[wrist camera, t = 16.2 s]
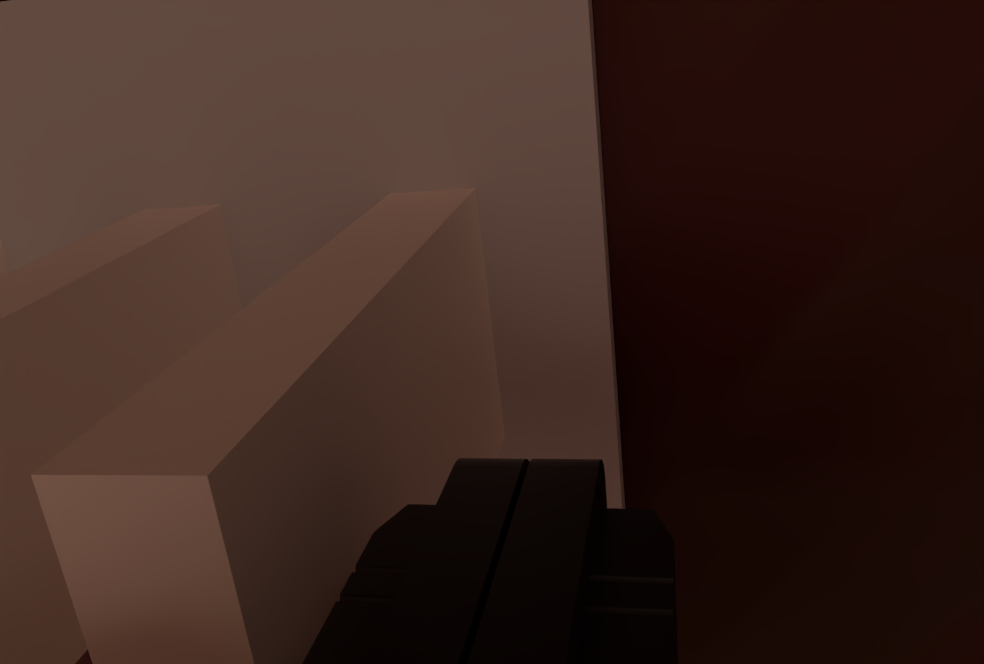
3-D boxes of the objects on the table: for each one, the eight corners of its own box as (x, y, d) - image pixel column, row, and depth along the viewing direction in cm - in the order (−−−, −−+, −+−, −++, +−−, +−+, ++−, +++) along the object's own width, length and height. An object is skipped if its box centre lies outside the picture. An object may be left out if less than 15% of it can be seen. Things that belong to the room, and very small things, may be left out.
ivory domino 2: (504, 437, 18) (318, 922, 9) (427, 438, 18) (171, 906, 9) (476, 187, 16) (208, 476, 7) (390, 193, 17) (30, 474, 8)
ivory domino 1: (271, 439, 19) (-107, 871, 10) (201, 439, 19) (-224, 857, 10) (220, 204, 17) (-294, 473, 8) (144, 209, 18) (-428, 472, 9)
